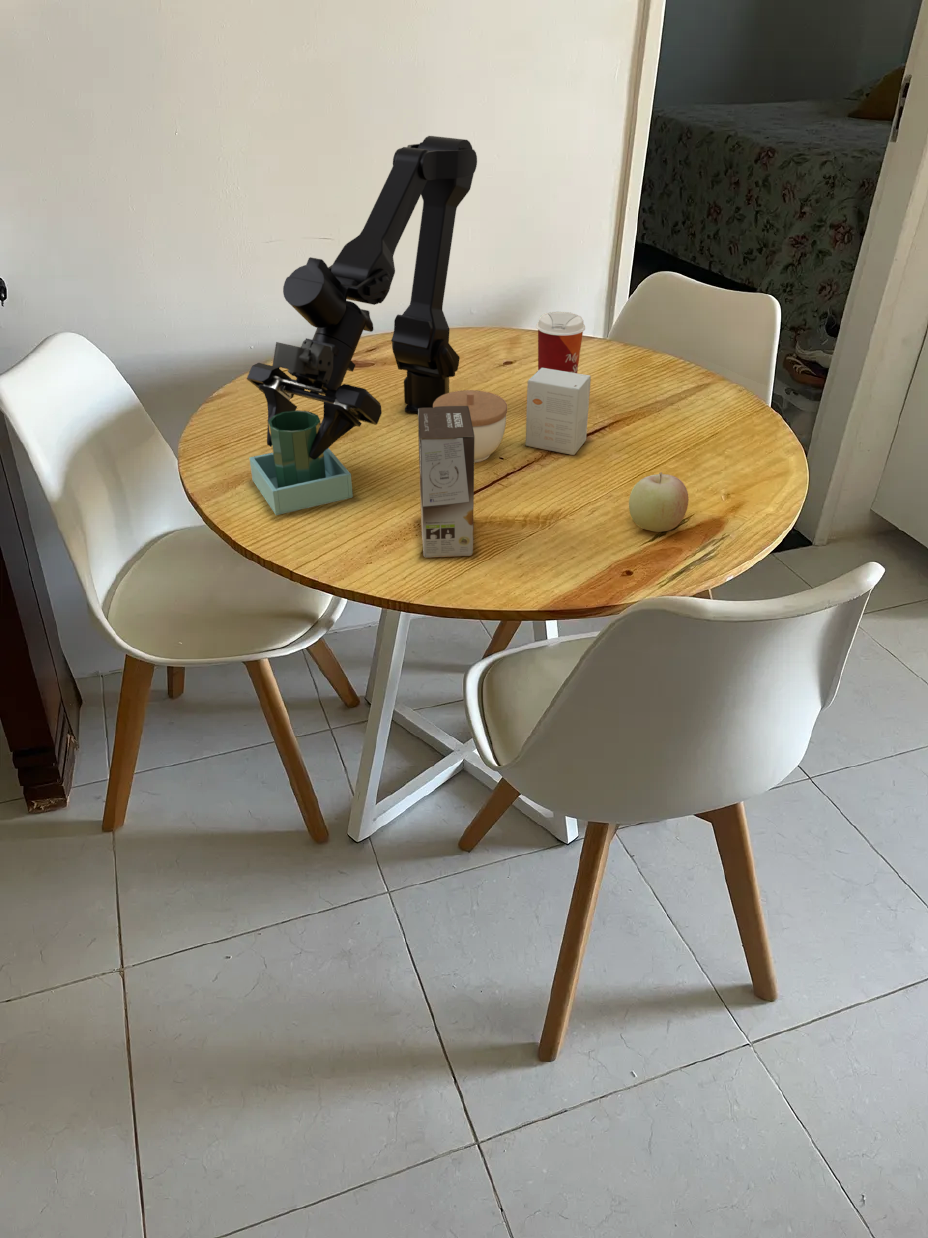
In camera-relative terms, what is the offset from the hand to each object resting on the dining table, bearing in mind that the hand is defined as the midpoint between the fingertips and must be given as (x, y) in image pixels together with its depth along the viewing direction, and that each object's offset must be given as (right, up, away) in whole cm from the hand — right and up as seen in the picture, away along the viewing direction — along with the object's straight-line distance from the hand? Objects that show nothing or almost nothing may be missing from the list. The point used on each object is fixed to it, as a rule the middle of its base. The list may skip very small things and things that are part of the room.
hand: (290, 451), depth 122 cm
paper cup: (+38, +13, +29) cm, 50 cm away
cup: (+1, -4, +5) cm, 6 cm away
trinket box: (+24, +2, +15) cm, 28 cm away
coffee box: (+21, -12, -5) cm, 24 cm away
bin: (+1, -5, +5) cm, 7 cm away
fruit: (+48, -10, -2) cm, 49 cm away
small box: (+37, +4, +17) cm, 41 cm away
